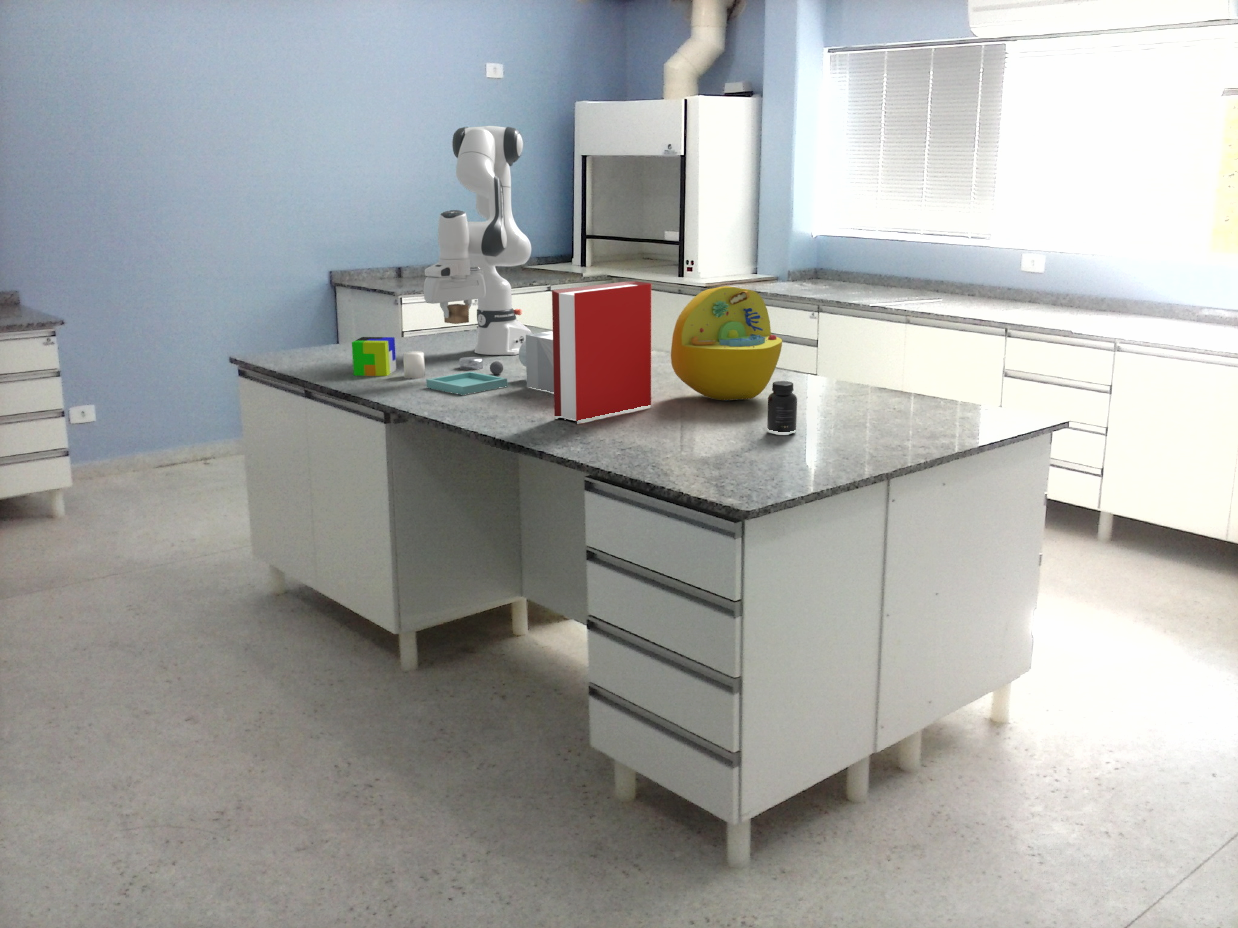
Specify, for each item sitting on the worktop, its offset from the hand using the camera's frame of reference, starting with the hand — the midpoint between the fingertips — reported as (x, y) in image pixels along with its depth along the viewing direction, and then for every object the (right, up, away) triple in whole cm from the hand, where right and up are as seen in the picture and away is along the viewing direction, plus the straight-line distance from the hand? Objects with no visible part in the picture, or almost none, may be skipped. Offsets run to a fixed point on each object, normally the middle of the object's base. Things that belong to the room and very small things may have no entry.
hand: (456, 316), depth 340 cm
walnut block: (0, -2, 0) cm, 2 cm away
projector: (+33, -21, -10) cm, 41 cm away
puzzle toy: (-26, -16, +12) cm, 33 cm away
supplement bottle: (+85, -36, -64) cm, 112 cm away
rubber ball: (+11, -14, +7) cm, 19 cm away
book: (+44, -30, -43) cm, 68 cm away
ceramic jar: (-13, -17, +6) cm, 22 cm away
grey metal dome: (+2, -14, +19) cm, 23 cm away
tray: (+4, -21, -10) cm, 24 cm away
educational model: (+76, -26, -28) cm, 85 cm away
